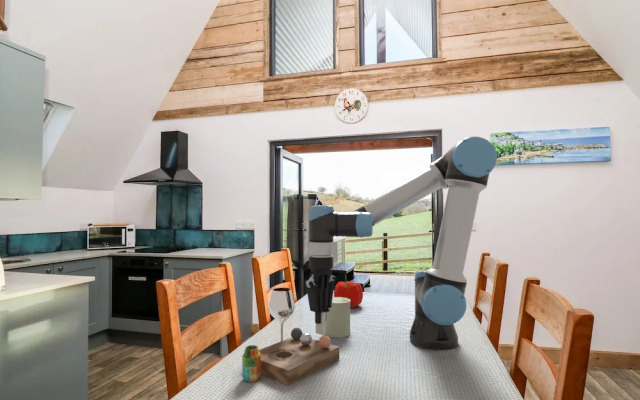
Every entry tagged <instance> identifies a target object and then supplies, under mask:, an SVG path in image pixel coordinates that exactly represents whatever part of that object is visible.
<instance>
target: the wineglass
mask: <svg viewBox="0 0 640 400" xmlns="http://www.w3.org/2000/svg"><path fill="white" fill-rule="evenodd" d="M295 304H296V303H295V300H294V296H293V292H292V289H291V288H289V287H274V288H273V289H272V291H271V293H270V298H269V301H268V312H269V314H270V316H271V317H273V318H274V319H275V320H276V321H277V322H278V324H279V331H280V332H279V333H280V335H279V336H280V338H279V340H280V341H279V342H281V341H284V339H283V338H284V335H283V334H284V331H283V330H284V323H285V322H286V321H287V320H288V319H289V318H291V316H292V315H293V314H294V311H295V310H296V309H295V308H296V305H295Z"/></svg>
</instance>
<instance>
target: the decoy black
mask: <svg viewBox="0 0 640 400" xmlns="http://www.w3.org/2000/svg"><path fill="white" fill-rule="evenodd" d="M302 334H303V331H302V329H301V328H300V327H295V328H293V329H292V330H291V332H290V336H291V337H290V338H293V339H294V340H299V339H300V337H301V335H302Z"/></svg>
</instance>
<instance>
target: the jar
mask: <svg viewBox="0 0 640 400" xmlns="http://www.w3.org/2000/svg"><path fill="white" fill-rule="evenodd" d="M259 350H260V349H259V346H258V345H253V344H251V345H246V346H245V348H244V351H243V352H244V353H243V354H242V355H241V356H242V360H241V362H242V366H241V367H242V368H241V369H242V372H241V373H242V378H243V380H244V381H245V382H246V383H247V382H248V383H253V382H257V381H258V380H259V379H260V377H261V374H260V373H261V354H260V352H259Z"/></svg>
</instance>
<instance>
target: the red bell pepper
mask: <svg viewBox="0 0 640 400" xmlns="http://www.w3.org/2000/svg"><path fill="white" fill-rule="evenodd" d="M362 287H363V286H362V285H361V283H354V282H352V281H350V280H347V281H338V282H337V283H336V285H334V291H333V297H343V298H348V299H350V300H351V301H350V309H351V308H356V307H357V306H359V305H361V304H362V302H363V297H364V293H363V291H364V290H363V288H362Z"/></svg>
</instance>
